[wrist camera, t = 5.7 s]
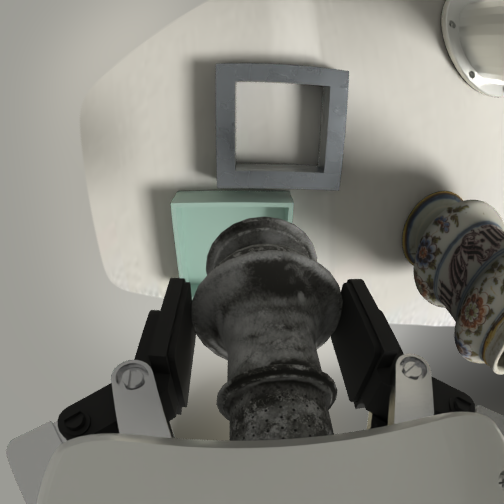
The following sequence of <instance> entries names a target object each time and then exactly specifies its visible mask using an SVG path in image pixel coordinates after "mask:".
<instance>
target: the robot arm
mask: <svg viewBox="0 0 504 504" xmlns="http://www.w3.org/2000/svg"><path fill="white" fill-rule="evenodd" d="M441 26H442V33H443V38H444V42H445V45H446V48H447V51H448V53H449V56H450V58H451V60H452V62H453V64H454V66H455V67H456V69H457V70H458V72H459V73H460V75H461V76H462V78H463V79H464V80H465V81H466V82H467V83H468V84H469V85H470V86H471V87H473V88H474V89H475V90H476V91H478V92H480V93H482V94H484V95H487V96H491V97H498V98H499V97H504V0H446V2H445V4H444V6H443V11H442V21H441ZM341 295H342V299H343V307H342V313H341V318H340V320H339V323H338V326H337V328H336V330H335V331H334V333H333V334H332V335H331V340H332V343H333V346H334V350H335V353H336V356H337V359H338V363H339V366H340V370H341V373H342V376H343V380H344V383H345V387H346V390H347V394H348V397H349V400H350V401H351V402H354V404H355V408H356V409H357V408H364V407H365V408H366V410H368V411H369V414H368V421H367V429H366V430H362V431H356V432H349V433H343V434H335V435H327V436H318V437H308V438H296V439H281V440H256V441H218V440H195V439H194V440H193V439H178V438H175V437H174V434H173V431H172V428H171V424H170V420H172V419H173V418H175V417H176V414H180V415H181V411H182V407H187V403H188V393H189V385H190V377H191V369H192V362H193V354H194V346H195V338H196V333H195V330H194V327H193V324H192V319H191V303H192V294H191V284H190V282H186V281H185V278H170V281H169V284H168V287H167V291H166V294H165V297H164V301H163V304H162V307H161V311H159V310H151V311H150V312H149V315H148V318H147V321H146V324H145V327H144V330H143V333H142V337H141V339H140V343H139V346H138V349H137V353H136V356H135V359H134V360H128V361H125V362H123V363H121V364H119V365H118V366H117V367H116V368H115V369H114V370H113V373H112V375H111V384H109V385H107V386H105V387H103V388H102V389H100V390H98V391H96V392H94V393H93V394H91V395H89V396H87V397H86V398H84V399H82V400H80V401H78V402H76V403H74V404H72V405H71V406H69V407H67V408H66V409H64V410H63V411H62V413H61V414H60V415H59V418H58V421H57V422H54V423H52V422H51V421H50V422H48V423H46V424H43V425H41V426H39V427H37V428H35V429H33V430H31V431H29V432H27V433H25V434H23V435H21V436H18V437H16V438H14V439H13V440H11V441H10V443H9V444H8V446H7V451H6V454H7V458H8V461H9V464H10V467H11V469H12V472H13V474H14V477H15V479H16V481H17V484H18V486H19V488H20V491H21V493H22V495H23V497H24V500H25V502H26V504H504V416H502V415H500V414H498V413H495V412H493V411H491V410H489V409H486V408H484V407H482V406H480V405H478V406H477V407H475V404H474V402H473V400H472V399H471V398H470V397H469V396H468V395H467V394H465V393H463V392H461V391H459V390H457V389H455V388H453V387H451V386H449V385H447V384H445V383H443V382H441V381H439V380H437V379H435V378H433V377H431V369H430V366H429V364H428V363H427V361H426V360H425V359H423V358H422V357H420V356H419V355H415V354H403V352H402V350H401V347H400V345H399V343H398V341H397V339H396V337H395V335H394V333H393V332H392V330H391V328H390V326H389V324H388V322H387V320H386V318H385V316H384V314H383V312H382V311H381V310H379V309H378V307H377V305H376V303H375V301H374V299H373V298H372V296H371V294H370V292H369V290H368V288H367V287H366V285H365V283H364V281H363V280H362V279H349V280H348V281H347V283H344V284H343V286H342V290H341Z"/></svg>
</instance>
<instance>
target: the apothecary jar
mask: <svg viewBox="0 0 504 504" xmlns="http://www.w3.org/2000/svg"><path fill="white" fill-rule="evenodd" d="M402 247H403V251H404V255H405V257H406V258H407V260H408V261H409V262H410V263H411V264H412V265H413V266H414V279H415V283H416V286H417V289H418V291H419V292H420V294H421V295H422V296H423V297H424V298H425V299H426V300H427V301H428V302H429V303H431V304H433V305H435V306H438V307H444V308H446V309H447V310H448V311H449V313H450V314H451V316H452V317H453V318H454V320H455V321H456V325H455V343H456V346H457V349H458V351H459V353H460V354H461V355H462V356H463V357H464V358H465V359H467V360H469V361H471V362H474V363H486V364H487V365H488V366H490V367H491V369H492V370H493V371H494V372H495V373H497V374H504V223H503V221H502V218H501V217H500V215H499V214H498V212H497V211H496V210H495V209H494V208H493V207H492V206H490V205H489V204H487V203H485V202H482V201H479V200H466V201H463V200H462V199H461V198H460V197H459V196H458V195H457V194H454V193H452V192H447V191H441V192H436V193H433V194H431V195H429V196H427V197H426V198H424V199H423V200H422V201H421V202H419V203H418V204H417V205H416V207H415V208H414V209H413V210H412V212H411V213H410V215H409V217H408V219H407V221H406V224H405V226H404V230H403V236H402Z"/></svg>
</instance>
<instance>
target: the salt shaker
mask: <svg viewBox="0 0 504 504" xmlns="http://www.w3.org/2000/svg"><path fill="white" fill-rule="evenodd" d="M206 273H207V276H206V277H205V278H204V280H203V281H202V282H201V283H200V284H199V285H198V287H197V290H196V292H195V295H194V297H193V299H192V303H191V319H192V324H193V327H194V330H195V333H196V334H197V336H198V337H199V339H200V340H201V341H202V343H203V344H204V345H205V346H206V347H208V348H209V349H210V350H211V351H212V352H214V353H215V354H216V355H218V356H220V357H222V358H224V359H226V360H228V381H227V383H225V384H224V385H223V386H222V388H221V390H220V391H219V393H218V396H217V406H218V409H219V411H220V413H221V414H222V415H223V416H224V417H225V418H226V419H227V420H229V421H230V441H256V440H281V439H296V438H308V437H318V436H327V435H334V433H333V429H332V424H331V420H330V416H329V411H328V410H329V409H330V408H331V406H332V405H333V403H334V401H335V400H336V396H337V388H336V385H335V382H334V381H333V379H332V378H330V376H329V375H328V374H326V373H324V372H322V370H321V366H320V362H319V358H318V354H317V349H318V348H319V347H321V346H322V345H323V344H324V343H325V342H326V341H327V340H328V339H329V337H330V336H331V335H332V334H333V333H334V331H335V330H336V328H337V326H338V323H339V320H340V318H341V313H342V307H343V299H342V295H341V291H340V287H339V285H338V283H337V282H336V280H335V279H334V277H333V276H332V275H331V273H330V272H329V271H328V270H327V269H326V268H324V267H323V266H322V265H320V264H319V263H318V262H317V255H316V252H315V249H314V246H313V244H312V242H311V241H310V239H309V238H308V236H307V235H306V234H305V233H304V232H303V231H302V230H301V229H299V228H298V227H297V226H295V225H294V224H292V223H290V222H287V221H285V220H282V219H279V218H272V217H255V218H248V219H245V220H242V221H240V222H237V223H234V224H233V225H231V226H230V227H228V228H227V229H225V230H224V231H223V232H221V233H220V235H219V236H218V237H217V238H216V239H215V241H214V242H213V243H212V245H211V248H210V250H209V252H208V255H207V261H206Z"/></svg>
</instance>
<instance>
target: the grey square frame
mask: <svg viewBox="0 0 504 504" xmlns="http://www.w3.org/2000/svg"><path fill="white" fill-rule="evenodd" d="M236 82H270V83H290V84H305V85H316V86H323V94H322V113H321V129H320V143H319V156H318V166H317V165H295V164H253V163H236ZM348 83H349V71H344V70H337V69H329V68H320V67H310V66H298V65H284V64H259V63H224V64H216V157H217V188H281V189H315V190H338V191H339V187H340V179H341V170H342V160H343V150H344V140H345V128H346V115H347V101H348Z"/></svg>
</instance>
